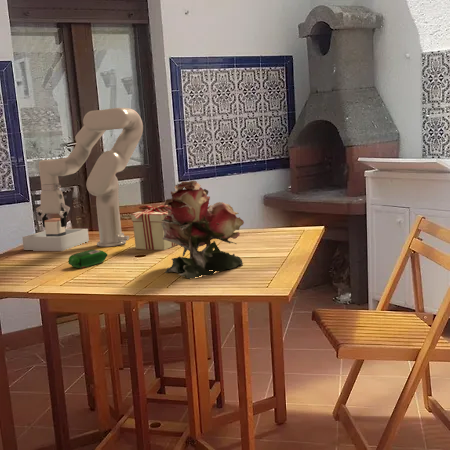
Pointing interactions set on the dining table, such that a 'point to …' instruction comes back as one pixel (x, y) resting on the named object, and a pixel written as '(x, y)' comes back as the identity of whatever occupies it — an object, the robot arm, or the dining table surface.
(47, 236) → the block
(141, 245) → the gift box
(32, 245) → the tote
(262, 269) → the dining table surface
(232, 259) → the rose bouquet
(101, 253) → the snack package
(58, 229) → the orange and beige cube
